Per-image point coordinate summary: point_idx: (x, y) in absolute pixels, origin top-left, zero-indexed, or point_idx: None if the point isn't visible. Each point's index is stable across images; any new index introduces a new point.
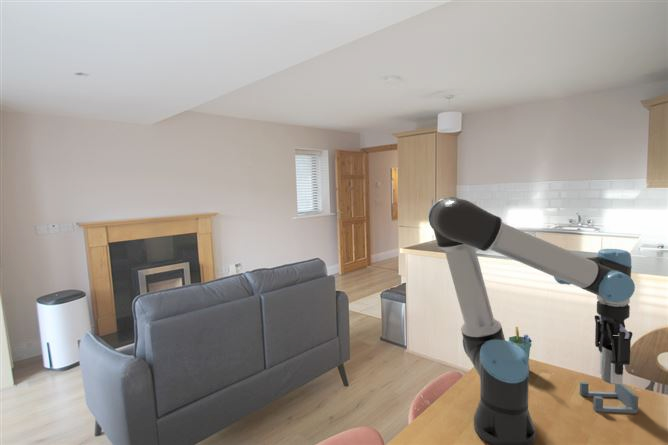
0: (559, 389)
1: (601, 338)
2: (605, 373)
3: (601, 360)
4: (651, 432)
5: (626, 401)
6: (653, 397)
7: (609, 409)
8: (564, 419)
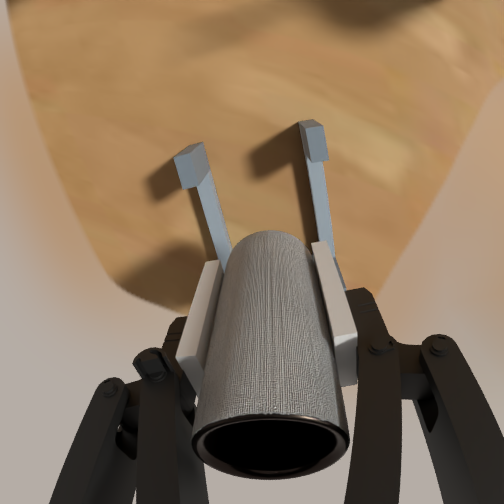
0: (331, 46)
1: (382, 467)
2: (240, 264)
3: (325, 296)
4: (133, 276)
5: None
6: None
7: (200, 198)
8: (99, 35)
